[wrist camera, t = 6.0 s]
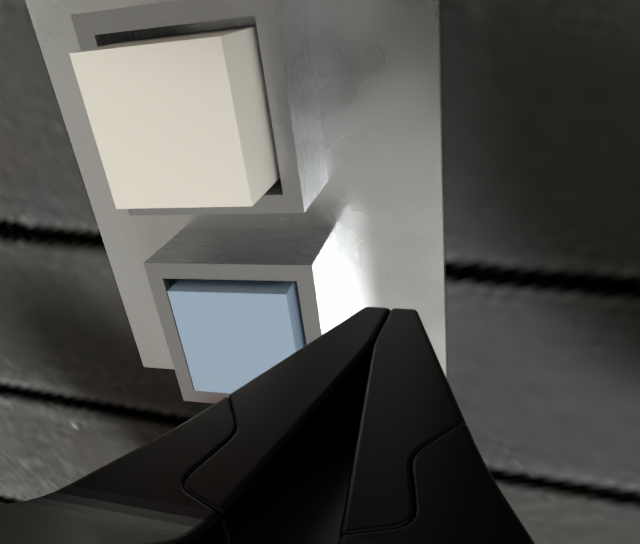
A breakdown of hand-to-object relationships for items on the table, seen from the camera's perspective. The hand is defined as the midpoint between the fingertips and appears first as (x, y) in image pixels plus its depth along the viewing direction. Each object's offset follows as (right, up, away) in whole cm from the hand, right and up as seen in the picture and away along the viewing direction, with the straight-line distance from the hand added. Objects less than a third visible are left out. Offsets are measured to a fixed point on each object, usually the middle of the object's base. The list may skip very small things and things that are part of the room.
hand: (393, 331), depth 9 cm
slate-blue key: (-3, 0, +13) cm, 14 cm away
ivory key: (-5, +6, +8) cm, 11 cm away
